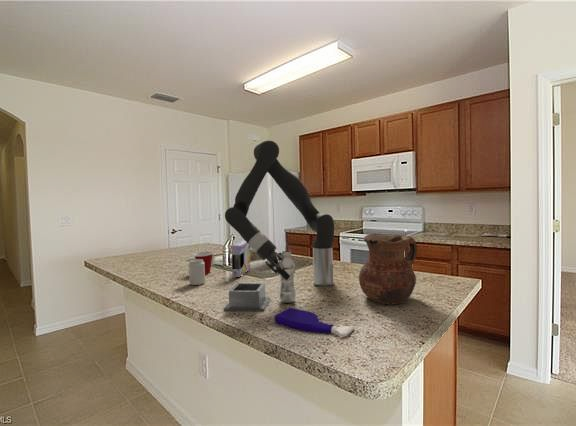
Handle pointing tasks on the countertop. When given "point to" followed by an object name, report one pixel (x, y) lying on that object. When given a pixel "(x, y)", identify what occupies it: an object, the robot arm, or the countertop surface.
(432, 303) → the countertop surface
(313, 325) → the spray bottle
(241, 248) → the cake pan box
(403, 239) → the jug
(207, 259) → the plastic cup
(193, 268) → the can
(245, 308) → the rack socket
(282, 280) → the plastic bottle
